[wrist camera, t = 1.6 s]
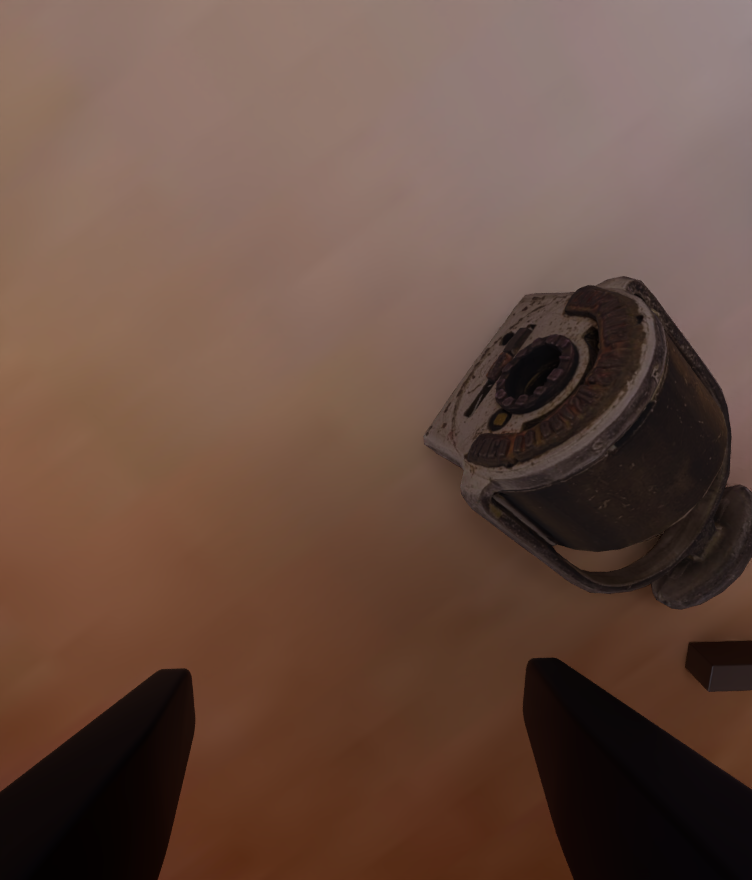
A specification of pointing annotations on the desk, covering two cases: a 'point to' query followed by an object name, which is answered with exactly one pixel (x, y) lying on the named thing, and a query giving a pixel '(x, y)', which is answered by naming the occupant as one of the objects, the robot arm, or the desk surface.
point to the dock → (721, 665)
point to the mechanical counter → (602, 443)
